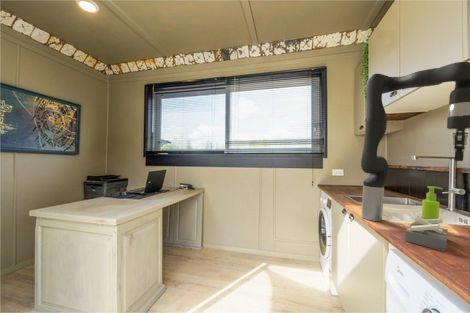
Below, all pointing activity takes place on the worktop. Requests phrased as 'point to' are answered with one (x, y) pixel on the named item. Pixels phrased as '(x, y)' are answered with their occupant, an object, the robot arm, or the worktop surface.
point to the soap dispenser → (430, 205)
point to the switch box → (427, 237)
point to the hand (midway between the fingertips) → (458, 160)
